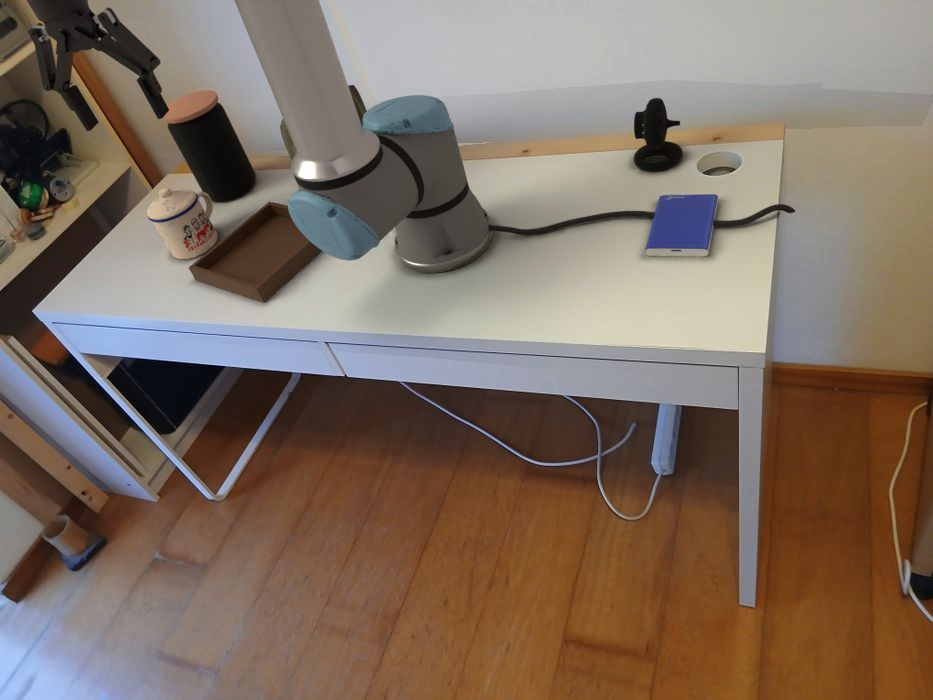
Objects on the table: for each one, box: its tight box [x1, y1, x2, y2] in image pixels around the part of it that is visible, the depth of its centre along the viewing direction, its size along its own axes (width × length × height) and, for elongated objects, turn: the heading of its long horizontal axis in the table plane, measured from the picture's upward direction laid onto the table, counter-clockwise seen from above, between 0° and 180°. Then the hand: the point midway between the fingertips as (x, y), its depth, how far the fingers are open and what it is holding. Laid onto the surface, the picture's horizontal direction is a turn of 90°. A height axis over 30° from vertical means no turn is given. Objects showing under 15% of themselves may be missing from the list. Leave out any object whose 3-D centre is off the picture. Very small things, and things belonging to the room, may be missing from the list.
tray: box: [188, 201, 323, 304], centre depth 127 cm, size 18×20×3 cm
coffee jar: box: [162, 89, 256, 203], centre depth 143 cm, size 11×11×18 cm
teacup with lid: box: [146, 187, 219, 260], centre depth 134 cm, size 12×9×12 cm
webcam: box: [633, 97, 683, 172], centre depth 117 cm, size 8×8×10 cm
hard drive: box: [645, 193, 719, 258], centre depth 106 cm, size 2×8×12 cm
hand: (128, 121), depth 122 cm, fingers open, 13 cm apart
